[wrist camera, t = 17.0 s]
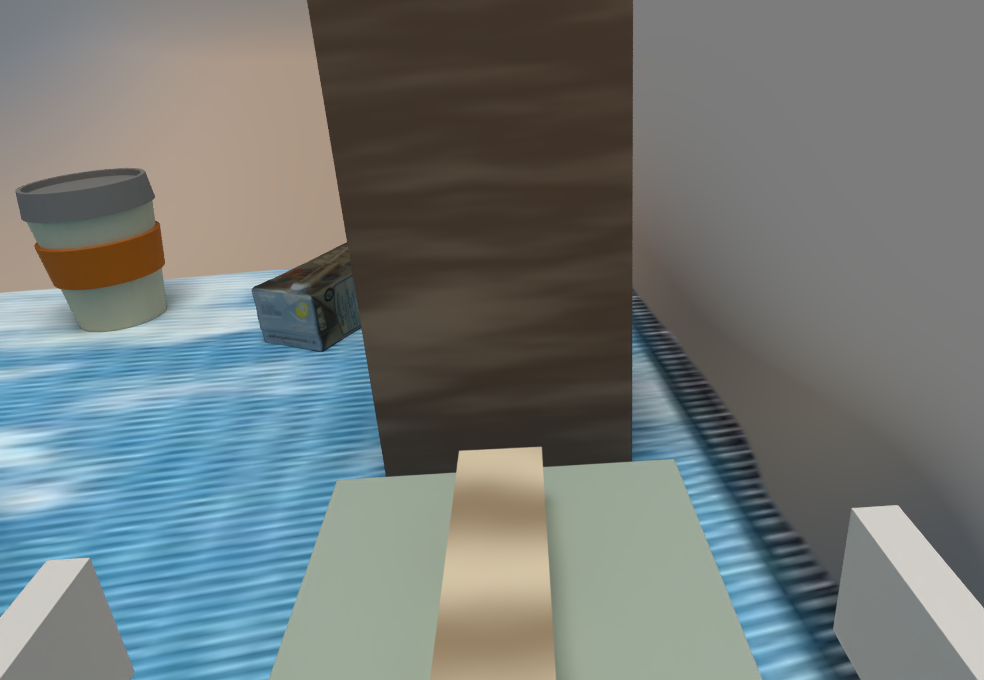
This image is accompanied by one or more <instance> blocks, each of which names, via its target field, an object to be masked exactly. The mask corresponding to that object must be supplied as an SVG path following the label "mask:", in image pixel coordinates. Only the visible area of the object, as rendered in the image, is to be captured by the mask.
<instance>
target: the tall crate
mask: <svg viewBox="0 0 984 680" xmlns="http://www.w3.org/2000/svg"><path fill="white" fill-rule="evenodd" d="M307 3H308V8H309V15H310V21H311V26H312V33H313V39H314V45H315V51H316V57H317V63H318V69H319V75H320V81H321V87H322V93H323V98H324V105H325V111H326V117H327V123H328V129H329V135H330V141H331V147H332V153H333V159H334V165H335V171H336V177H337V184H338V190H339V196H340V201H341V207H342V213H343V220H344V225H345V232H346V238H347V244H348V250H349V256H350V262H351V268H352V274H353V280H354V286H355V292H356V298H357V304H358V310H359V316H360V322H361V328H362V334H363V340H364V346H365V352H366V358H367V364H368V370H369V376H370V382H371V388H372V394H373V400H374V406H375V412H376V418H377V424H378V430H379V436H380V442H381V448H382V455H383V461H384V467H385V473H386V477H394V476H410V475H426V474H442V473H456V471H457V463H458V455H459V451H468V450H487V449H507V448H527V447H542V460H543V467H555V466H571V465H587V464H603V463H619V462H632V156H633V155H632V154H633V153H632V151H633V149H632V147H633V146H632V145H633V143H632V141H633V139H632V138H633V134H632V133H633V131H632V130H633V124H632V123H633V122H632V121H633V120H632V119H633V109H632V108H633V0H307Z"/></svg>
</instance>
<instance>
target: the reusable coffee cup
mask: <svg viewBox="0 0 984 680" xmlns="http://www.w3.org/2000/svg"><path fill="white" fill-rule="evenodd" d="M15 191H16V196H17V201H18V205H19V209H20V214H21V218H22V220H23V221H25V222H27V223H28V225H29V227H30V229H31V231H32V233H33V235H34V237H35V239H36V241H37V243H36V244H35V249H36V251H37V253H38V255H39V257H40V259H41V261H42V263H43V265H44V267H45V269H46V271H47V273H48V274H49V277H50V279H51V281H52V282H53V284H54V286H55V287H57V288H59V289H61V290H62V292H63V294H64V296H65V298H66V300H67V302H68V304H69V306H70V308H71V310H72V312H73V314H74V316H75V318H76V320H77V322H78V324H79V326H80V328H82V329H83V330H86V331H92V332H104V331H113V330H119V329H125V328H129V327H133V326H136V325H139V324H142V323H145V322H148V321H150V320H152V319H154V318H156V317H158V316H160V315H161V314H162V313H164V312H165V310H166V309H167V303H166V296H165V289H164V282H163V274H162V267H163V266H164V264H165V259H164V252H163V245H162V237H161V230H160V224H159V222H157V221H155V217H154V209H153V202H152V200H153V199H154V198H155V195H154V193H153V190H152V188H151V185H150V183H149V180H148V178H147V175H146V172H145V171H144V170H142V169H136V168H119V169H105V170H96V171H88V172H81V173H74V174H69V175H63V176H58V177H53V178H48V179H45V180H40V181H36V182H33V183H29V184H26V185H24V186H21V187H19V188H17V189H16V190H15Z"/></svg>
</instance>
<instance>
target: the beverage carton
mask: <svg viewBox="0 0 984 680" xmlns="http://www.w3.org/2000/svg"><path fill="white" fill-rule="evenodd" d="M252 294H253V298H254V302H255V305H256V309H257V315H258V320H259V323H260V328H261V330H262V332H263V336H264V339H265V342H266V343H273V344H279V345H285V346H291V347H297V348H303V349H309V350H314V351H324V350H326V349H327V348H329V347H330V346H332V345H333V344H335V343H336V342H338V341H340V340H341V339H343V338H345V337H346V336H348V335H350V334H351V333H353V332H355V331H356V330H358V329H359V328H361V322H360V316H359V310H358V304H357V298H356V292H355V286H354V280H353V274H352V268H351V262H350V256H349V250H348V244H347V243H345V244H343V245H340V246H339V247H336V248H335V249H333V250H331V251H329V252H327V253H325V254H322V255H320V256H319V257H317V258H315V259H313V260H310V261H309V262H307V263H305V264H302V265H300V266H298V267H296V268H294V269H292V270H290V271H288V272H286V273H284V274H282V275H280V276H277V277H275V278H273V279H271V280H268V281H266V282H264V283H262V284H260V285H257V286H255V287H254V288H252Z"/></svg>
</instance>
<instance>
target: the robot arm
mask: <svg viewBox="0 0 984 680" xmlns="http://www.w3.org/2000/svg"><path fill="white" fill-rule="evenodd" d="M833 631H834V633H835V634H836V636H837V638H838V640H839V642H840V643H841V645H842V647H843V649H844V650H845V652H846V654H847V656H848V658H849V659H850V661H851V663H852V665H853V667H854V668H855V670H856V672H857V674H858V676H859V677H860V679H861V680H984V608H983V607H982V606H981V605H980V603H979V602H978V601H977V600H976V599H975V597H974V596H973V595H972V594H971V593H970V591H969V590H968V589H967V588H966V587H965V586H964V584H963V583H962V582H961V581H960V579H959V578H958V577H957V576H956V575H955V573H954V572H953V571H952V570H951V569H950V567H948V565H947V564H946V563H945V561H944V560H943V559H942V558H941V557H940V555H939V554H938V553H937V552H936V551H935V549H934V548H933V547H932V546H931V545H930V543H929V542H928V541H927V540H926V539H925V537H924V536H923V535H922V534H921V533H920V531H919V530H918V529H917V528H916V527H915V525H914V524H913V523H912V522H911V521H910V520H909V518H908V517H907V516H906V515H905V513H904V512H903V511H902V510H901V509H900V507H899V506H897V505H894V506H879V507H864V508H852V509H851V516H850V522H849V529H848V536H847V542H846V549H845V556H844V562H843V568H842V575H841V582H840V588H839V595H838V601H837V608H836V614H835V621H834V628H833ZM133 674H134V669H133V667H132V664H131V662H130V659H129V657H128V654H127V651H126V649H125V646H124V644H123V641H122V639H121V636H120V633H119V631H118V628H117V626H116V623H115V621H114V618H113V616H112V613H111V610H110V608H109V605H108V603H107V600H106V598H105V595H104V592H103V590H102V587H101V585H100V582H99V580H98V577H97V575H96V572H95V569H94V567H93V564H92V562H91V559H90V558H78V559H63V560H47V561H46V562H45V564H44V565H43V566H42V567H41V569H40V570H39V571H38V572H37V573H36V575H35V576H34V577H33V578H32V580H31V581H30V582H29V583H28V584H27V586H26V587H25V588H24V589H23V591H22V592H21V593H20V594H19V595H18V597H17V598H16V599H15V600H14V602H13V603H12V604H11V605H10V606H9V608H8V609H7V610H6V611H5V613H4V614H3V615H2V616H1V617H0V680H130V679H131V677H132V675H133Z"/></svg>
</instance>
